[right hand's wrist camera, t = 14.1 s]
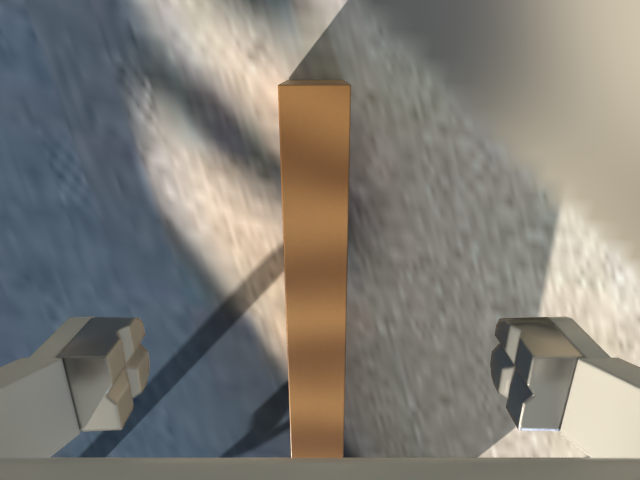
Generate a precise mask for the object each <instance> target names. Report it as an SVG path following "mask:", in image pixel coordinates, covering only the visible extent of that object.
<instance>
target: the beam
mask: <svg viewBox="0 0 640 480" xmlns="http://www.w3.org/2000/svg"><path fill="white" fill-rule="evenodd" d="M278 101H279V129H280V157H281V185H282V213H283V241H284V269H285V297H286V325H287V353H288V381H289V409H290V437H291V458H343V449H344V400H345V351H346V301H347V252H348V203H349V154H350V104H351V85H350V84H349V83H347V82H346V81H344V80H287V81H285V82H283V83H281V84H279V85H278Z"/></svg>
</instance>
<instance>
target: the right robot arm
mask: <svg viewBox="0 0 640 480" xmlns="http://www.w3.org/2000/svg"><path fill="white" fill-rule="evenodd" d="M144 336H145V331H144V327H143V322H142V321H141V320H140V319H139V318H122V317H72V318H68V319H67V320H66V321H65V322H64V323H63V324H62V325H61V326H60V327H59V328H58V329H57V330H56V331H55V332H54V333H53V334H52V335H51V336H50V337H49V338H48V339H47V340H46V341H45V342H44V343H43V344H42V345H41V346H40V347H39V348H38V349H37V350H36V351H35V352H34V353H33V354H32V355H31V356H30V357H29V358H20V359H18V360H16V361H13V362H11V363H9V364H7V365H4V366H2V367H0V480H640V367H638V366H636V365H633V364H631V363H629V362H627V361H624V360H622V359H620V358H611V357H610V356H609V355H608V354H607V353H606V352H605V351H604V350H603V349H602V348H601V347H600V346H599V345H598V344H597V343H596V342H595V341H594V340H593V339H592V338H591V337H590V336H589V335H588V334H587V333H586V332H585V331H584V330H583V329H582V328H581V327H580V326H579V325H578V324H577V323H576V322H575V321H574V320H573V319H572V318H569V317H536V318H502V319H499V321H498V323H497V325H496V331H495V336H496V337H497V339H498V341H499V342H500V344H499V345H498V346H497V347H496V348H495V349H494V350H493V351H492V356H491V364H490V365H491V376H492V379H493V383H494V385H495V387H496V389H497V391H498V393H499V394H501V395H502V396H504V397H505V398H507V405H506V408H507V410H508V412H509V413H510V415H511V417H512V419H513V421H514V423H515V424H516V426H517V428H518V430H532V431H560V434H561V435H563V436H564V437H565V438H566V439H568V440H569V441H570V442H572V443H573V444H574V445H575V446H577V447H578V448H579V449H581V450H582V451H583V452H584V453H586V454H587V455H588V456H589V457H591V458H49V457H51V456H52V455H53V454H55V453H56V452H57V451H58V450H60V449H61V448H62V447H63V446H65V445H66V444H67V443H69V442H70V441H71V440H72V439H74V438H75V437H76V436H78V435H79V434H80V431H107V430H122V428H123V426H124V424H125V423H126V421H127V419H128V417H129V415H130V414H131V412H132V410H133V408H134V405H133V398H135V397H136V396H138V395H139V394H141V393H142V391H143V389H144V387H145V385H146V383H147V379H148V374H149V355H148V351H147V350H146V349H145V348H144V347H143V346H142V345H141V344H140V342H141V341H142V339H143V337H144Z"/></svg>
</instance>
